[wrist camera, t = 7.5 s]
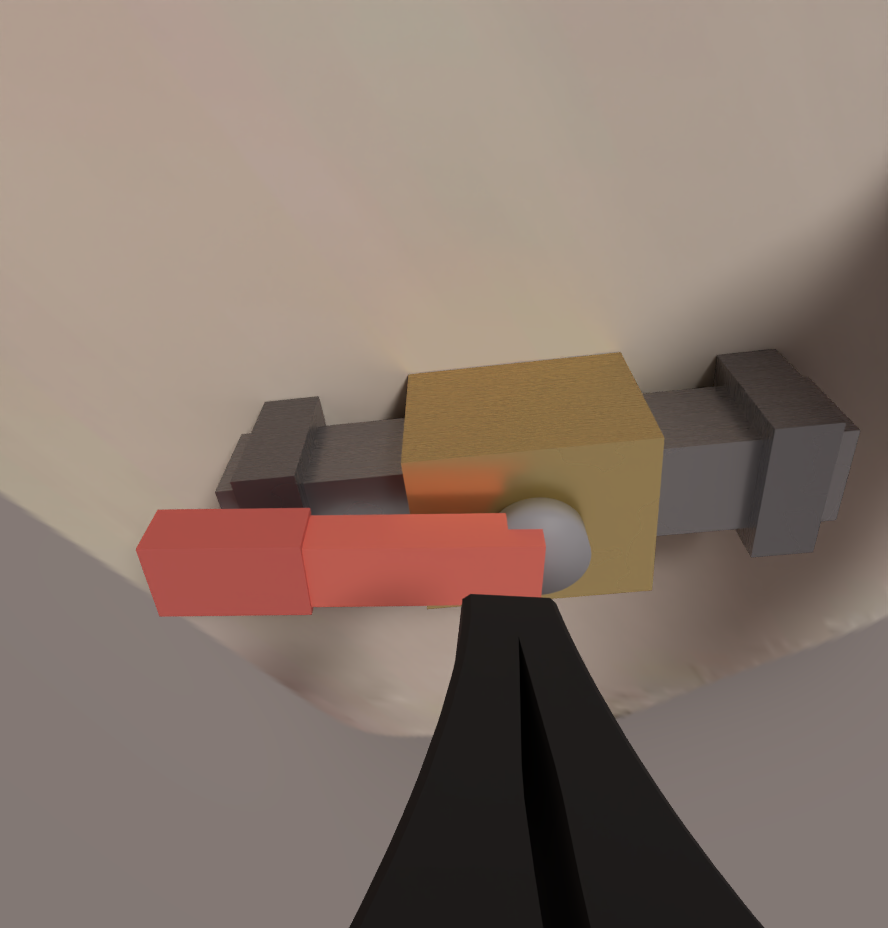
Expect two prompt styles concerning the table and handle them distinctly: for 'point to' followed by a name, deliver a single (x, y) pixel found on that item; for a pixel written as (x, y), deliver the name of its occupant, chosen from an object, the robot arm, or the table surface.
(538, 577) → the lever
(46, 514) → the table surface
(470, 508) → the pipe valve
